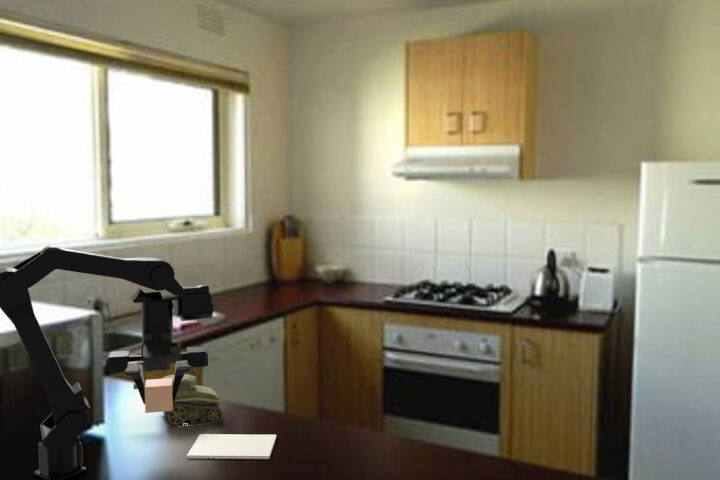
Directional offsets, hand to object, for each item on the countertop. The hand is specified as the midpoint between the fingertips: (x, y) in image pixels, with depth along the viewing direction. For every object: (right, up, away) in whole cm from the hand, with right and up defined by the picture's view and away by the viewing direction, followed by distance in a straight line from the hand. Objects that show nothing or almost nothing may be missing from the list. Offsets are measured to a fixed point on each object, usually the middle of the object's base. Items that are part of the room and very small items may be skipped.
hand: (159, 402), depth 131 cm
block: (0, -1, 0) cm, 1 cm away
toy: (-2, -9, +21) cm, 23 cm away
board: (+14, -10, +5) cm, 18 cm away
